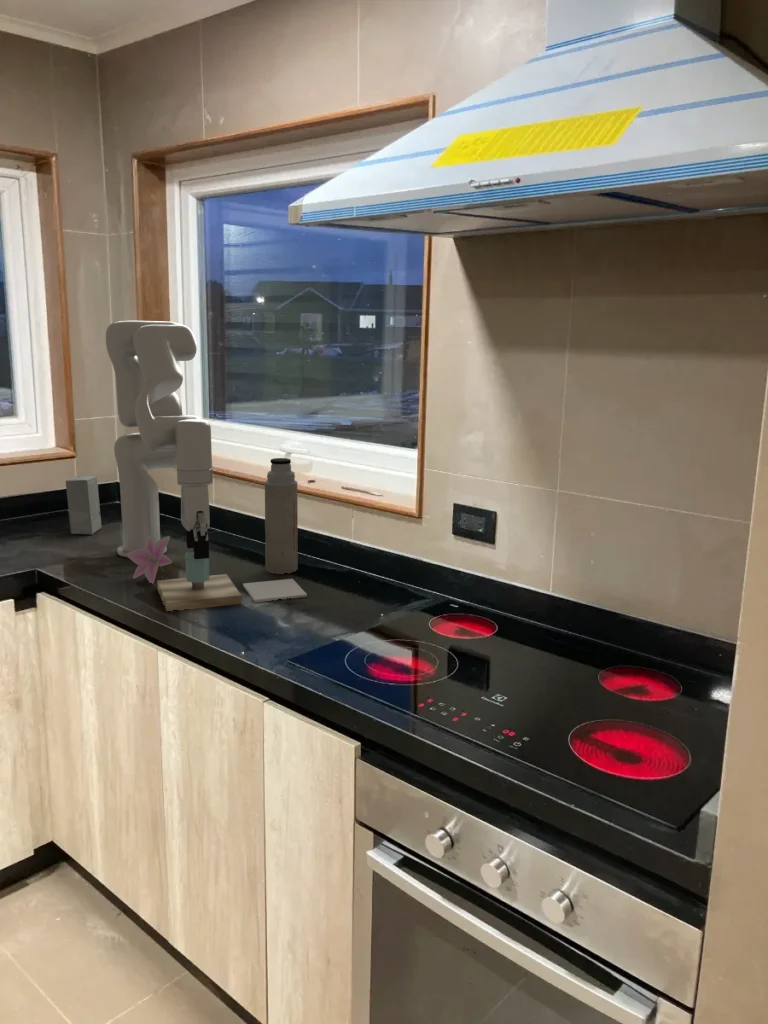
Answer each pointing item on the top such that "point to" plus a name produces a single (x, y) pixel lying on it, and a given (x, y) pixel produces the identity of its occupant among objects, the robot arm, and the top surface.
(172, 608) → the post block
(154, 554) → the lily
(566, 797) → the top surface
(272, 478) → the thermos bottle
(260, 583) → the grey mat
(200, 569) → the cap
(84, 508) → the skincare box
